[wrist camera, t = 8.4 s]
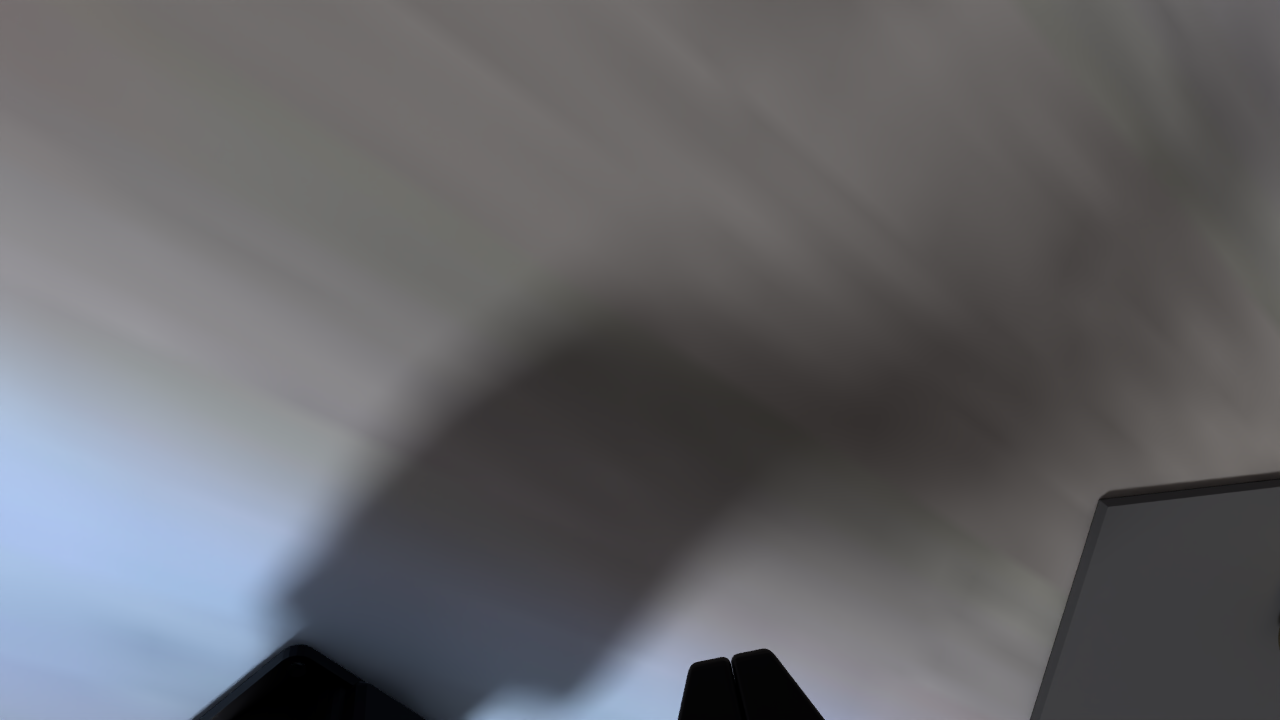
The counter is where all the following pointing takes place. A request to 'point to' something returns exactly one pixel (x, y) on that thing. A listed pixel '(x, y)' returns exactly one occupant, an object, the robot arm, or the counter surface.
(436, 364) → the counter surface
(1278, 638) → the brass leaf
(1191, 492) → the rubber mat
